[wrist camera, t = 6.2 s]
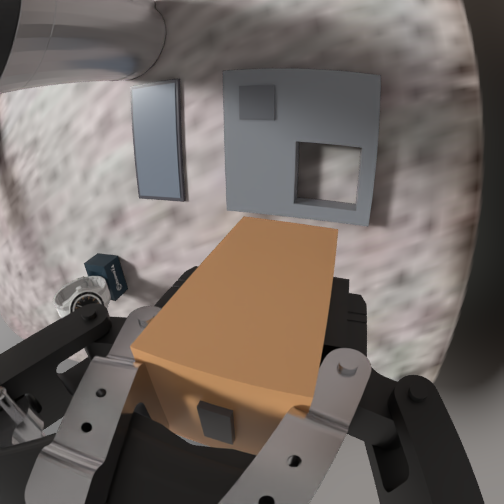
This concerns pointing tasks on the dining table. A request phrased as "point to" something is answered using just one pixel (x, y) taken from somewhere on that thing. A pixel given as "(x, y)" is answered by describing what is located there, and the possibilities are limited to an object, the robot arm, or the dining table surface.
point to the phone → (158, 140)
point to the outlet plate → (296, 137)
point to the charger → (243, 334)
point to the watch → (92, 285)
